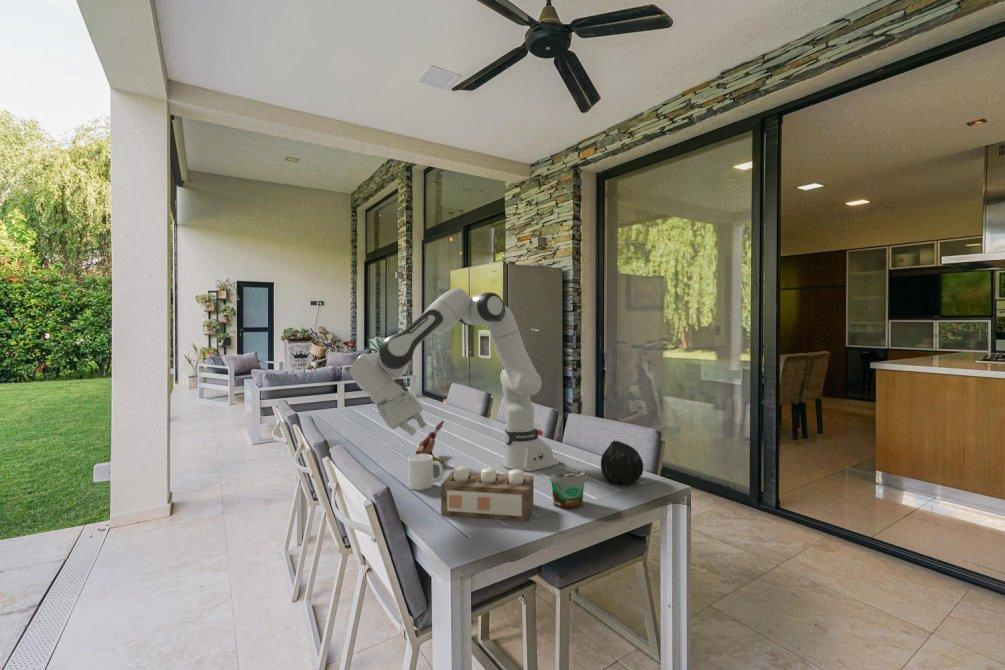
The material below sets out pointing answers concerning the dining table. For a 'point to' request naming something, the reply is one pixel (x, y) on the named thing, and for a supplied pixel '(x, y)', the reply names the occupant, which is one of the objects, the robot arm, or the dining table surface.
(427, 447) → the decorative bird
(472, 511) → the pattern card
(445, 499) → the wooden peg block
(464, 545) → the dining table surface
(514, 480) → the white rounded cylinder
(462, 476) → the white egg
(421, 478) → the cup
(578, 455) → the dining table surface
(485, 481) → the white rounded cylinder
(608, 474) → the squash
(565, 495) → the food container
